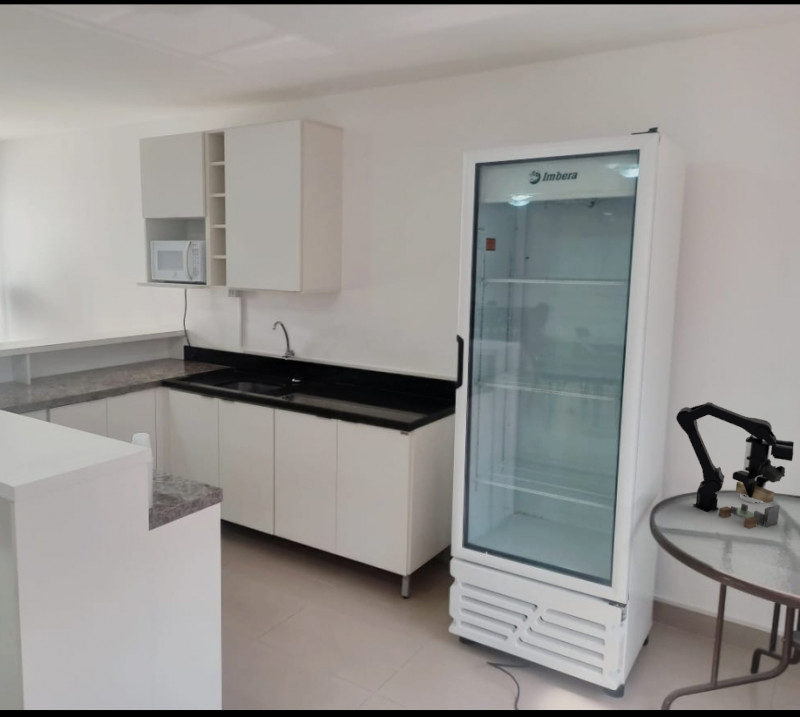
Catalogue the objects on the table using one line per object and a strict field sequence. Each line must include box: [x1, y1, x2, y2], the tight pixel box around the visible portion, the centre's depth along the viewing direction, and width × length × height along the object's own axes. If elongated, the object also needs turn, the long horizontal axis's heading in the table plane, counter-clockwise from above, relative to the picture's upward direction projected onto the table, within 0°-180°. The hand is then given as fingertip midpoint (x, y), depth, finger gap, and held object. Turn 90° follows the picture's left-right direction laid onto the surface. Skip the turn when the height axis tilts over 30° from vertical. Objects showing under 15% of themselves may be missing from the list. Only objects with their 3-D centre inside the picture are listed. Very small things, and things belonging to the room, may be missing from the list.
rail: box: [735, 481, 775, 504], centre depth 232 cm, size 12×4×4 cm, turn 27°
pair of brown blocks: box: [718, 506, 758, 530], centre depth 230 cm, size 12×4×3 cm, turn 27°
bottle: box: [739, 436, 771, 503], centre depth 248 cm, size 8×8×28 cm
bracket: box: [730, 503, 780, 528], centre depth 233 cm, size 15×7×7 cm, turn 27°
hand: (753, 496), depth 232 cm, fingers closed on rail, 3 cm apart
